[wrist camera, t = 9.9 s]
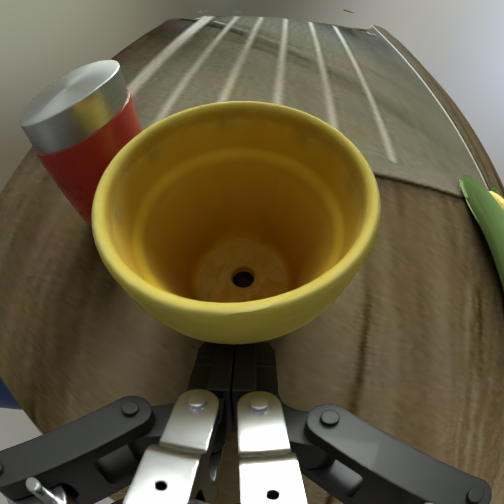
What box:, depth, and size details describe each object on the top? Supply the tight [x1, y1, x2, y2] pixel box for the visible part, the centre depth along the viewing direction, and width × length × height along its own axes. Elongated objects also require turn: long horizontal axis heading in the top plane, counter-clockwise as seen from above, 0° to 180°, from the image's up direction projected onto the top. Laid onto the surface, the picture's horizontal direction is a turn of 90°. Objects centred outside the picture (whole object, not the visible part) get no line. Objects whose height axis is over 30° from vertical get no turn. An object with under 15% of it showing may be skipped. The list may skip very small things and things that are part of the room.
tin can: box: [20, 60, 142, 227], centre depth 16 cm, size 7×7×12 cm
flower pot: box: [91, 101, 381, 344], centre depth 13 cm, size 10×10×10 cm
